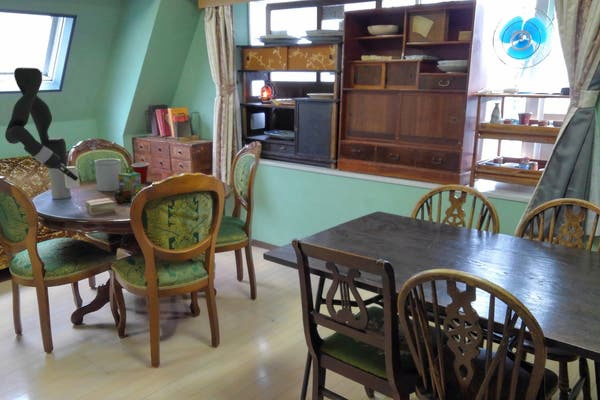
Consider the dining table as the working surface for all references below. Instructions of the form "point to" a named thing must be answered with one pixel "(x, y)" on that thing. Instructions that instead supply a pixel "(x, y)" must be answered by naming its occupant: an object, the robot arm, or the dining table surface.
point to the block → (100, 206)
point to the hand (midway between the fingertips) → (75, 178)
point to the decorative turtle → (123, 195)
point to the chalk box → (130, 181)
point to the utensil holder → (107, 173)
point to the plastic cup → (141, 170)
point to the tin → (69, 181)
